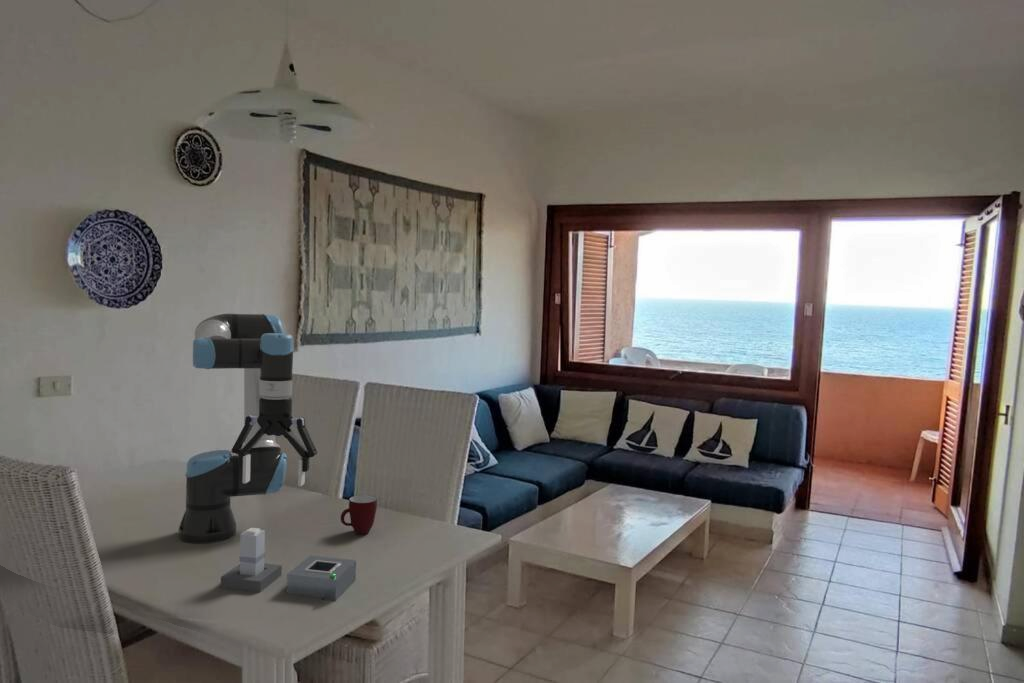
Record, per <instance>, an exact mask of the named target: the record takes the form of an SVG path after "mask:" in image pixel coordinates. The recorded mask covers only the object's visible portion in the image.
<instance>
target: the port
mask: <svg viewBox="0 0 1024 683" xmlns="http://www.w3.org/2000/svg"><path fill="white" fill-rule="evenodd" d="M356 572H357V560H356V559H355V560H354V559H346V558H337V557H330V556H329V557H328V556H319V555H317V556H316V555H308V556H307V557H306V558H305V559H304V560H303V561H301V562H300V563H299V564H298V565H296V567H294V568H293V569H292V570H290V571H289V572H288V573H286V594H289V595H290V594H291V595H299V596H306V597H314V598H321V600H324V601H331V602H332V601H333V602H336V601H338V599H339V598H340V597H341V596H342V595H344V594H345V592H346V591H347V590H348V589H349V587H351V585H353V583H355V581H356V575H357V574H356Z"/></svg>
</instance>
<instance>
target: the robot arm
mask: <svg viewBox="0 0 1024 683" xmlns="http://www.w3.org/2000/svg"><path fill="white" fill-rule="evenodd" d="M294 350H295V346H294V337H293V335H291V334H289V333H284V329H283V324H282V321H281V319H280V318H279V317H278V315H273V314H271V315H270V314H265V313H262V314H260V313H259V314H257V313H256V314H254V313H253V314H252V313H251V314H249V313H221V314H215V315H213V316H209V317H208V318H205V319H204V320H202V321H200V323H199V324H198V325H197V326H196V328H195V332H194V339H193V340H192V366H193V367H194V368H195V369H203V370H204V369H205V370H211V369H212V370H214V369H243V390H244V391H243V400H244V401H243V406H244V408H243V410H244V413H243V414H244V423H243V425H244V426H243V427H242V429H241V431H240V433H239V434H238V437H237V438H236V440H235V443H234V444H233V446H232V448H231V450H227V449H224V450H223V449H218V450H217V449H216V450H209V451H205V452H204V451H203V452H201V453H198V454H195V455H193V456H191V457H190V458H189V459H188V461H187V464H186V472H185V478H186V486H185V487H186V489H185V511H184V513H183V516H182V518H181V521H180V524H179V526H178V533H177V535H178V539H179V540H181V541H183V542H186V543H191V544H207V543H215V542H219V541H223V540H227V539H229V538H231V537H234V535H236V533H237V522H236V519H235V516H234V513H233V510H232V507H231V497H232V498H234V497H244V496H259V495H264V496H265V495H268V494H277V493H279V492H280V491H281V490H282V488H283V485H284V483H285V477H286V471H287V470H286V469H287V454H286V452H284V451H283V452H282V451H281V449H282V448H281V446H280V444H278V443H277V441H276V436H277V437H281V436H283V437H284V438H285V439H286V440H287V441H288V442H289V443H290V445H291V446H292V447H293V448H294V450H295V451H296V452H297V454H298V455H299V456H300V458H299V459H298V466H297V467H298V470H297V472H298V475H297V483H298V484H297V486H298V487H302V486H303V485H304V484H305V482H306V473H307V472H308V471H309V469H310V459H311V458H313V457H315V456H316V455H317V454H318V450H317V448H316V446H315V445H314V444H315V443H314V441H313V440H312V438H311V436H310V433H309V431H308V429H307V426H306V421H305V420H306V419H305V417H303V416H301V417H299V418H297V417H296V418H293V416H292V415H293V414H292V412H293V409H292V408H293V406H292V405H293V399H292V398H291V397H292V396H293V368H294V367H293V366H294V365H293V364H294V363H293V362H294ZM292 425H294V427H295V428H297V432H298V434H299V436H300V438H301V441H302V442H301V441H300V439H299V438H298V437H297V436H296V434H295V433H294V431H293V429H292V428H291V427H292ZM233 454H236V455H233Z"/></svg>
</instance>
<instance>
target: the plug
mask: <svg viewBox="0 0 1024 683" xmlns="http://www.w3.org/2000/svg"><path fill="white" fill-rule="evenodd" d="M265 538H266V530H265V529H261V528H258V527H250V528H248V529H246V530H245V531H244V532H242V533H240V545H239V546H240V548H239V550H240V551H239V552H240V553H239V564H240V574H242V575H251V576H257V575H259V574H260V573H261V572H263V571H264V563H265V557H266V552H265V550H266V549H265V544H266V539H265Z"/></svg>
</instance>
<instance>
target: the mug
mask: <svg viewBox="0 0 1024 683" xmlns="http://www.w3.org/2000/svg"><path fill="white" fill-rule="evenodd" d="M348 501H349V502H348V508H346V509H344V510H343V511H342V512H341V514H340V522H341V523H342V524H343V525H344V526H348V527H352V529H353V530H354V533H355V534H357V535H366V534H369V533H370V531H371V529H372V527H373V525H374V523H375V518H376V514H377V513H376V512H377V509H378V499H377V497H376V496H373V495H369V494H360V495H355V496H351V497H350V498H349V500H348ZM348 513H349V517H350V518H349V519H350V522H346V521H345V516H346V515H347V514H348Z"/></svg>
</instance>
